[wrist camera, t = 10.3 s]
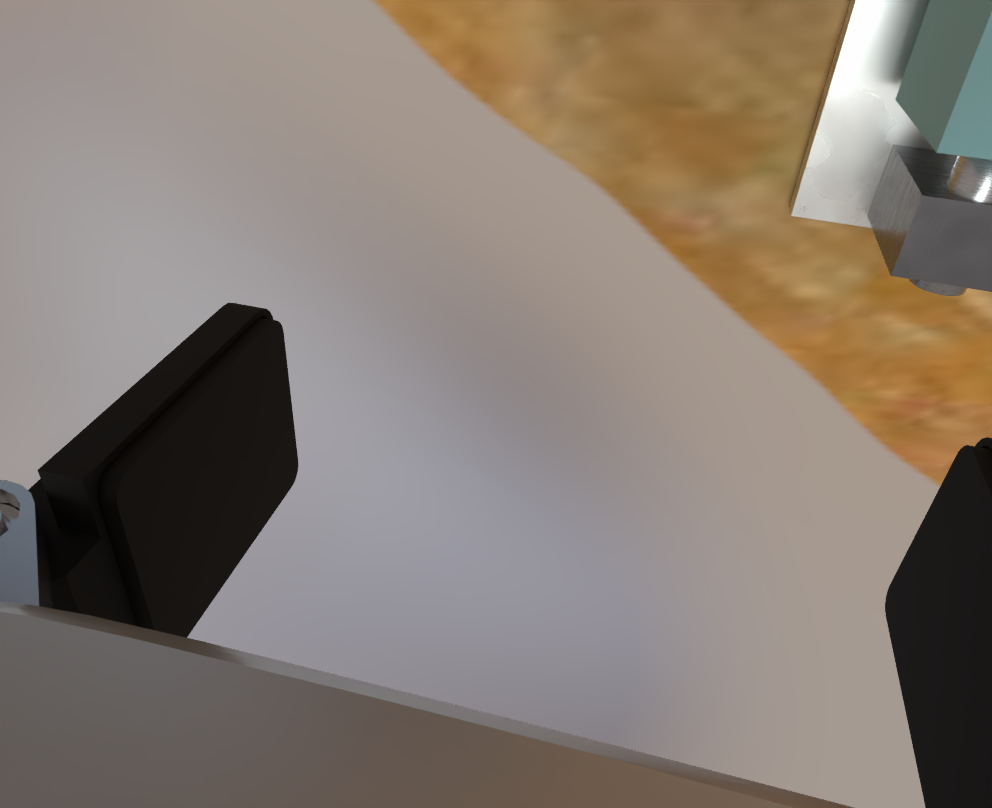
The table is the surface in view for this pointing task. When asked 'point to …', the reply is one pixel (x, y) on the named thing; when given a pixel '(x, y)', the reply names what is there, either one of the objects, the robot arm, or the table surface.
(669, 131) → the table surface
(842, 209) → the shaft rig
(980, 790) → the robot arm
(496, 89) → the table surface
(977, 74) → the teal block
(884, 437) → the table surface
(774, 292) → the table surface
